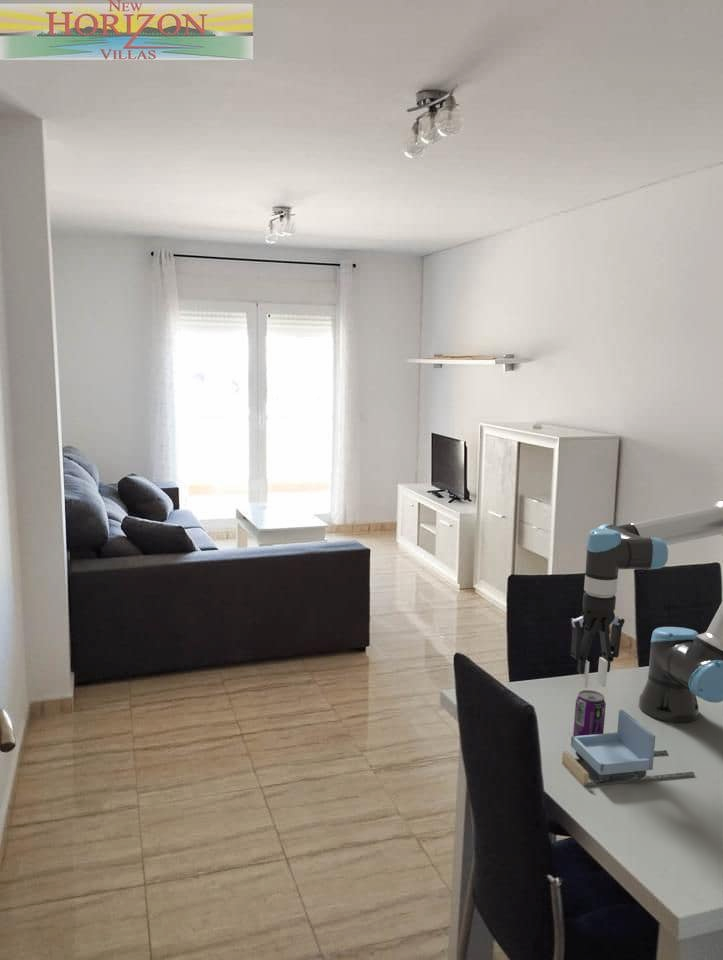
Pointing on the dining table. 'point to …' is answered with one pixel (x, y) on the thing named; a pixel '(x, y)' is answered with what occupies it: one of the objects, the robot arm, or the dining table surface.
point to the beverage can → (589, 713)
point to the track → (583, 779)
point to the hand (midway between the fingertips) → (592, 684)
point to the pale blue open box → (618, 749)
